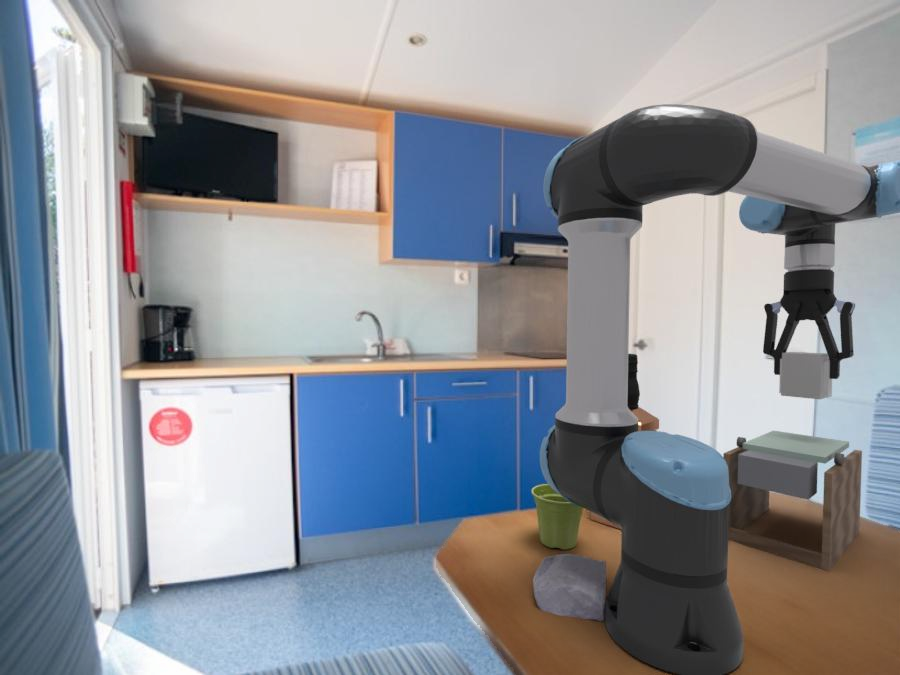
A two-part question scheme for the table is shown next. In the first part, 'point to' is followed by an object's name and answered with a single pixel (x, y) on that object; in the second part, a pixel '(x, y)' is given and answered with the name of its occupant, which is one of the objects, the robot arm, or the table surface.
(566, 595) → the stone block
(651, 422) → the whiskey bottle
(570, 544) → the plant pot
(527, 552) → the table surface
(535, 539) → the table surface
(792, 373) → the grey stone block
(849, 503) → the trapdoor stand
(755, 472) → the trapdoor
